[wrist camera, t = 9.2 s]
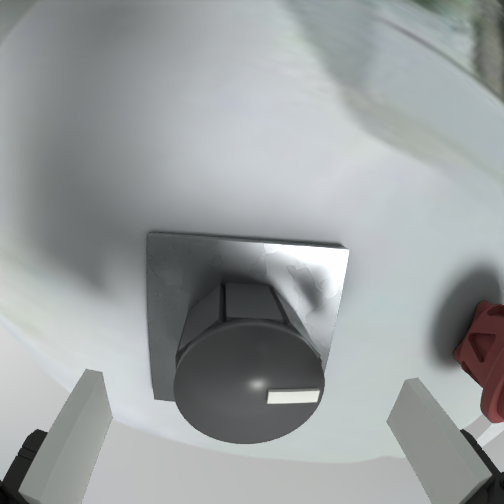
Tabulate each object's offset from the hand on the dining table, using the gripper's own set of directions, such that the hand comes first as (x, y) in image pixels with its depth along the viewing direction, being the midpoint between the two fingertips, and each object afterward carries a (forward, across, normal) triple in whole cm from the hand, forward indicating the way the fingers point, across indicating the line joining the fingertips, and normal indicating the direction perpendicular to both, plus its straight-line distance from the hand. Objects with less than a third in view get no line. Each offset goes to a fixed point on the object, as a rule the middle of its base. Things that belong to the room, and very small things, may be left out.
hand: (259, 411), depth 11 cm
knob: (+8, 0, -1) cm, 8 cm away
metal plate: (+9, 0, -1) cm, 9 cm away
